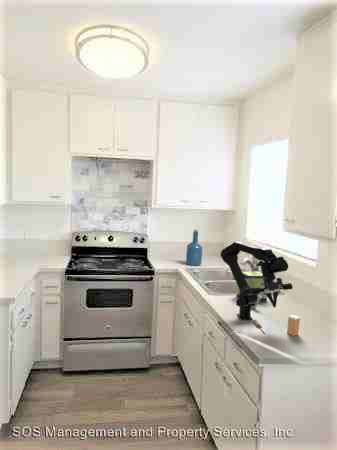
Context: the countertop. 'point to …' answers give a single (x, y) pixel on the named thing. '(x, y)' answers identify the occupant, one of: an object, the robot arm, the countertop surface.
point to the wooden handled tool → (257, 325)
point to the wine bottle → (194, 251)
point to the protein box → (254, 283)
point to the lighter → (257, 302)
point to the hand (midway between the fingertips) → (274, 307)
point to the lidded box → (293, 325)
